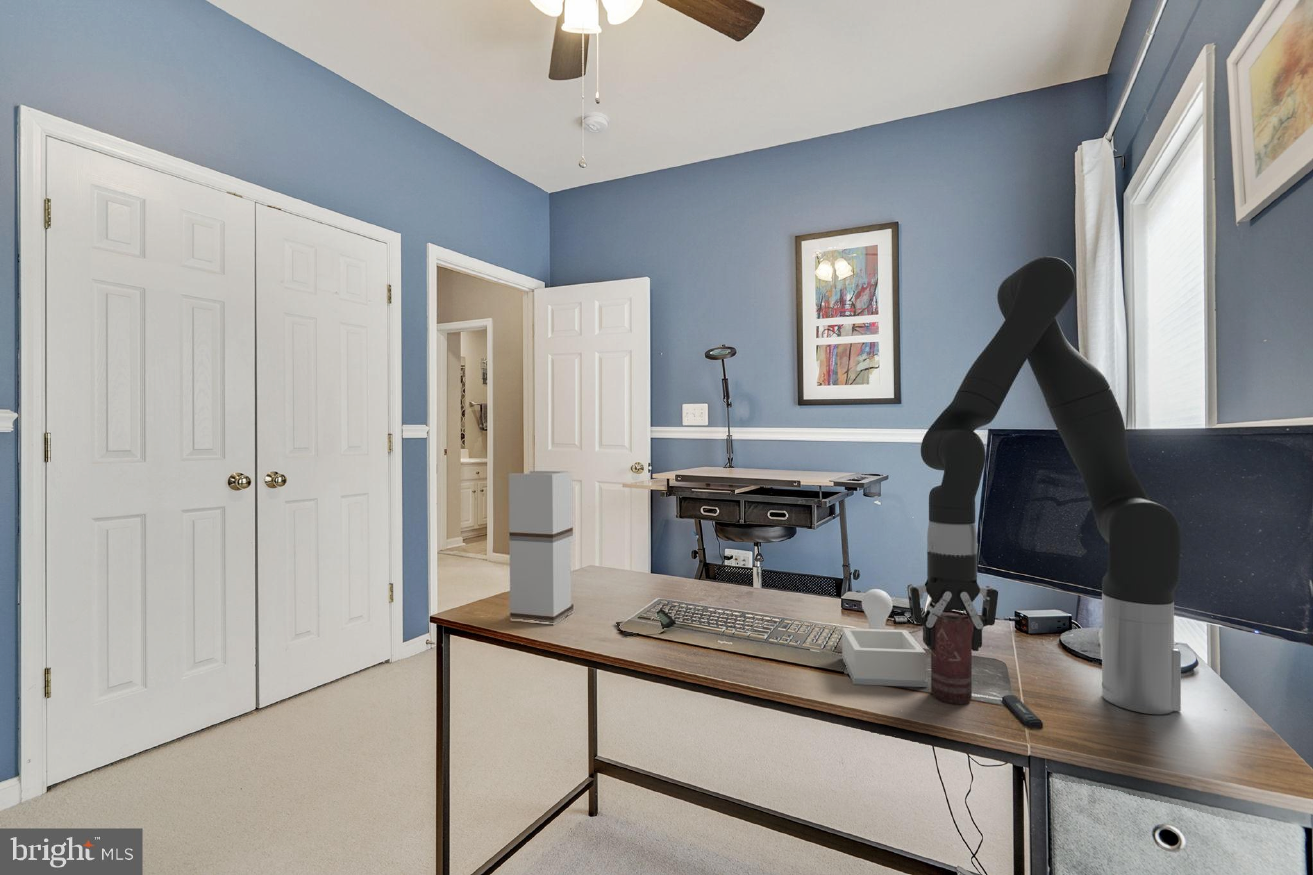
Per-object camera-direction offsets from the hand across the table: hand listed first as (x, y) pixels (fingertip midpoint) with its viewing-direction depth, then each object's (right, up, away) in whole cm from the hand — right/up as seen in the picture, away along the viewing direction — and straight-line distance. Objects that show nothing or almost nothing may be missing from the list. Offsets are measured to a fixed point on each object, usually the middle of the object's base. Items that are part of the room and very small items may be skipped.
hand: (951, 648), depth 103 cm
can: (0, -8, 0) cm, 8 cm away
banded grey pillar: (-77, -8, +47) cm, 90 cm away
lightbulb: (-3, -8, +28) cm, 29 cm away
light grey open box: (-8, -8, +11) cm, 16 cm away
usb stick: (+8, -9, -6) cm, 13 cm away
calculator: (-52, -9, +38) cm, 65 cm away
